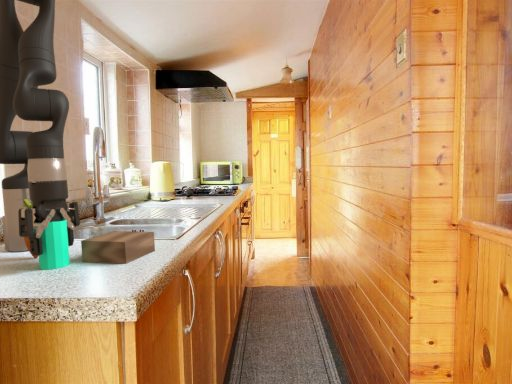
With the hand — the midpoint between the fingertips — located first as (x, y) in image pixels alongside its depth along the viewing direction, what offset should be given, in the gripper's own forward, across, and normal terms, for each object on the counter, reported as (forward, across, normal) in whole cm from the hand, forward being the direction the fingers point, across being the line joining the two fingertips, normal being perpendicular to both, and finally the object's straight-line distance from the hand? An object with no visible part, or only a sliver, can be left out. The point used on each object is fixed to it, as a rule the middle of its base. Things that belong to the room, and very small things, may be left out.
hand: (53, 250), depth 79 cm
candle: (+4, 0, 0) cm, 4 cm away
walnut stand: (+4, -10, +10) cm, 15 cm away
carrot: (+4, -5, -11) cm, 13 cm away
